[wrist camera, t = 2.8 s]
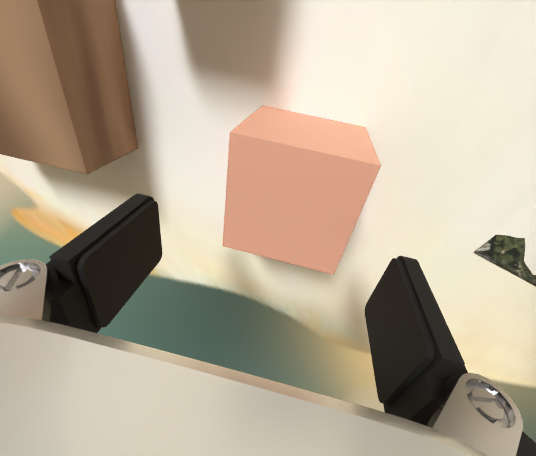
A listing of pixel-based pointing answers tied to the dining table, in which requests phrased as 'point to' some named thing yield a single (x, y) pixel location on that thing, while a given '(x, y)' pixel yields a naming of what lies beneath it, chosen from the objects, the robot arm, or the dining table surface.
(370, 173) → the terracotta cube
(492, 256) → the eiffel tower figurine
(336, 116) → the dining table surface
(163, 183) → the dining table surface
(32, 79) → the walnut base block
